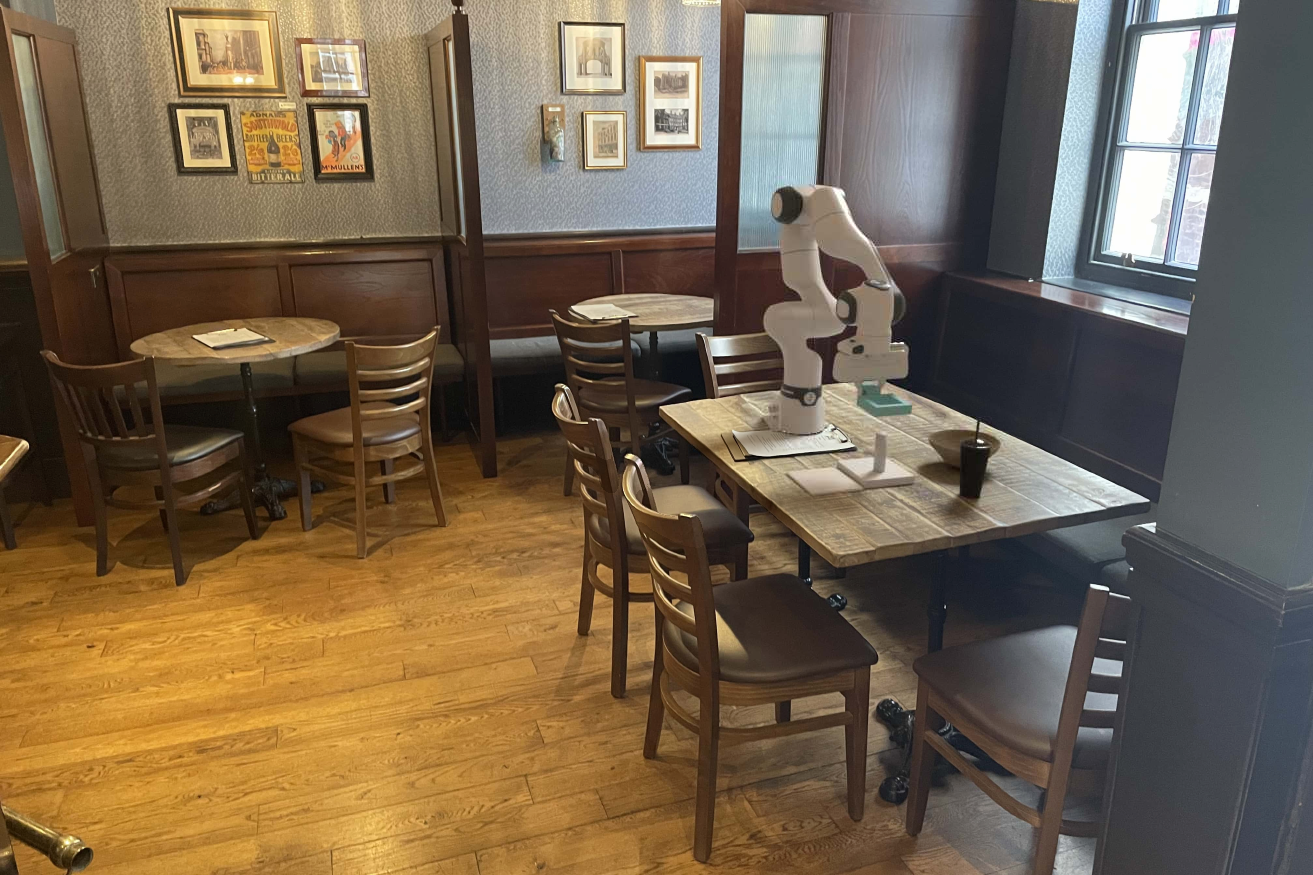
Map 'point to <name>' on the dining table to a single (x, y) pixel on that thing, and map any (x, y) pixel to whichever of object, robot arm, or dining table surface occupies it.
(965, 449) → the drinking cup
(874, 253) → the robot arm
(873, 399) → the teal square ring handle
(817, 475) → the mat
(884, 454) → the post stand
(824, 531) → the dining table surface
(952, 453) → the bowl
